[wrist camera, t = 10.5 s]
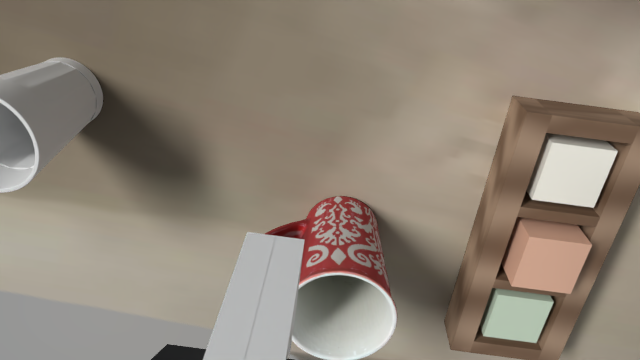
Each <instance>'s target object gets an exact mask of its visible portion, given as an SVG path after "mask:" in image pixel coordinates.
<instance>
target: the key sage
mask: <svg viewBox="0 0 640 360" xmlns="http://www.w3.org/2000/svg"><path fill="white" fill-rule="evenodd" d="M553 303H554V302H553V300H552V298H551V296H550V295H543V294H535V293H528V292H520V291H513V290H505V289H498V288H492V290H491V293H490V296H489V299H488V302H487V305H486V308H485V310H484V313H483V316H482V319H481V322H480V327H481V330H482V334H483V336H486V337H494V338H501V339H509V340H516V341H524V342H531V343H536V342H537V340H538V338H539V335H540V333H541V331H542V328H543V326H544V324H545V321H546V319H547V317H548V314H549V312H550V310H551V307H552V305H553Z"/></svg>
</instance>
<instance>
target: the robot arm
mask: <svg viewBox="0 0 640 360" xmlns="http://www.w3.org/2000/svg"><path fill="white" fill-rule="evenodd" d="M304 241H305V239H297V238H289V237H282V236H274V235H267V234H259V233H251V232H247V234H246V237H245V240H244V243H243V246H242V249H241V251H240V254H239V257H238V260H237V263H236V266H235V269H234V272H233V274H232V277H231V280H230V283H229V286H228V289H227V292H226V295H225V297H224V300H223V303H222V306H221V309H220V312H219V315H218V317H217V320H216V323H215V326H214V329H213V332H212V335H211V338H210V340H209V344H208V346H207V349H199V348H192V347H183V346H177V345H169V344H167V345H166V346H165V347H164V348H163V349H162V350H161V351H160V352H159V353H158V354H157V355H156V356H154V357H153V358H152V359H151V360H293V359H289V355H290V348H291V342H292V335H293V328H294V322H295V314H296V306H297V298H298V290H299V282H300V273H301V265H302V257H303V249H304Z"/></svg>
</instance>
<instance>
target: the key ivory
mask: <svg viewBox="0 0 640 360" xmlns="http://www.w3.org/2000/svg"><path fill="white" fill-rule="evenodd" d="M617 152H618V151H617V150H616V149H615V148H614V147H613V146H611V145H610V144H609V143H608V142H607V141H605V140H598V139H590V138H582V137H575V136H567V135H559V134H552V133H546V135H545V138H544V141H543V144H542V147H541V149H540V152H539V155H538V158H537V161H536V164H535V167H534V170H533V172H532V175H531V178H530V181H529V184H528V187H527V190H526V191H527V193H528V194H529V196H530V197H531V199H532V200H538V201H546V202H554V203H561V204H569V205H576V206H584V207H592V208H594V206H595V204H596V202H597V199H598V197H599V195H600V192H601V190H602V188H603V185H604V183H605V181H606V178H607V176H608V174H609V171H610V169H611V167H612V164H613V162H614V160H615V157H616V155H617Z"/></svg>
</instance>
